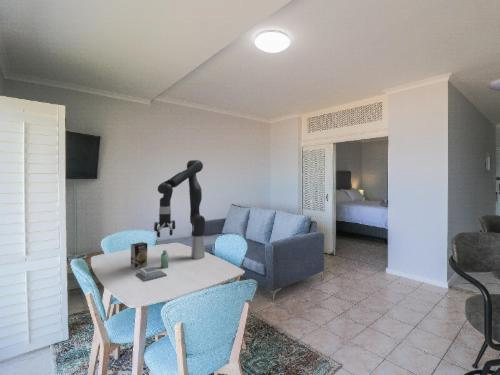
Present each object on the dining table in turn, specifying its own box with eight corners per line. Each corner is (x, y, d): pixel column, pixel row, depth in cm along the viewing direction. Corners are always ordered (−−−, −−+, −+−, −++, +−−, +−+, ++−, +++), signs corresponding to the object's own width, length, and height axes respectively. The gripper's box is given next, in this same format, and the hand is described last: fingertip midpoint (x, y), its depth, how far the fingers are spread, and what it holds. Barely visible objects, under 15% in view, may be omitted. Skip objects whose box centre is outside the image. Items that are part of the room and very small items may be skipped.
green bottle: (166, 265, 187) (166, 249, 186) (169, 267, 183) (169, 250, 183) (159, 267, 184) (159, 250, 183) (162, 268, 180) (162, 252, 180)
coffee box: (135, 269, 178) (135, 245, 177) (130, 267, 182) (130, 244, 181) (147, 266, 185) (147, 243, 185) (142, 264, 189) (142, 241, 188)
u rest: (157, 269, 178) (157, 264, 178) (166, 275, 168) (166, 269, 167) (135, 274, 168) (135, 268, 168) (144, 281, 158) (144, 274, 158)
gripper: (172, 211, 190) (172, 234, 190) (152, 213, 180) (152, 236, 181) (177, 212, 184) (176, 235, 185) (157, 214, 174) (156, 238, 175)
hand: (164, 236), depth 183 cm, fingers open, 8 cm apart
